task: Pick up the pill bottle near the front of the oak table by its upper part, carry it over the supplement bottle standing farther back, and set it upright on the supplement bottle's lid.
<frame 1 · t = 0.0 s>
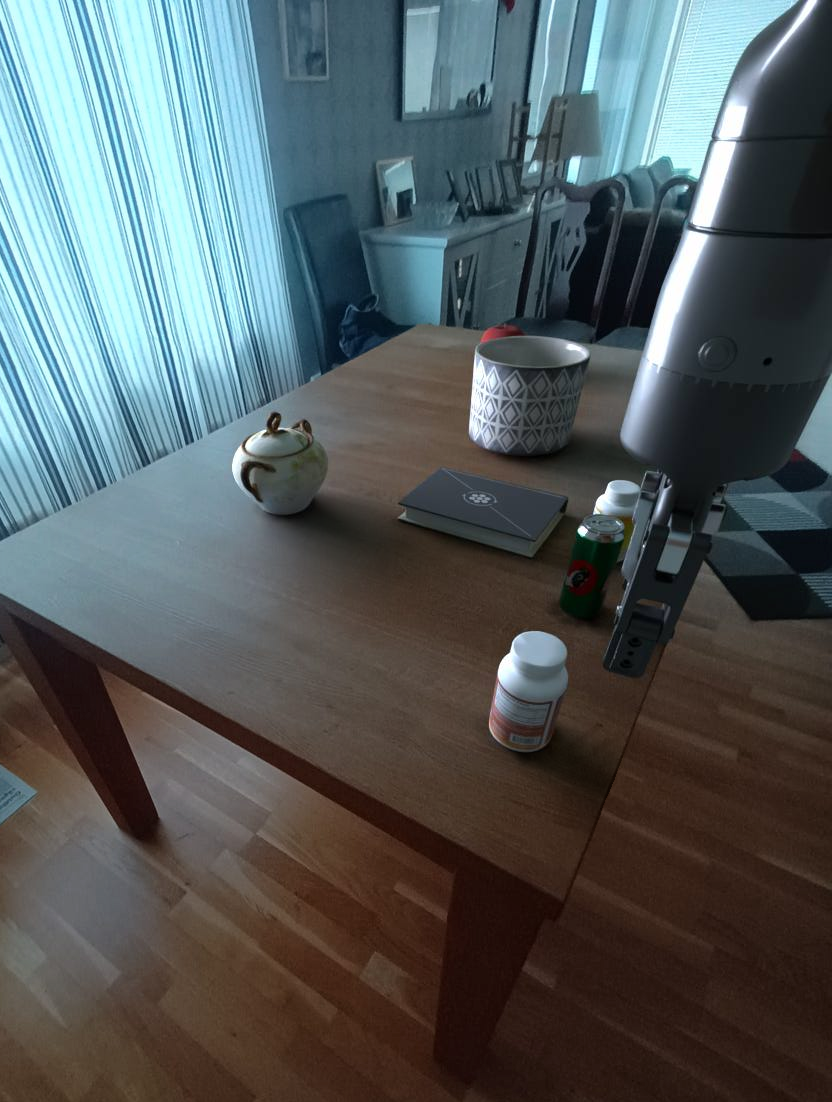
hand: (630, 628, 36), 21 cm above the table, tool pointing down, fingers open, 8 cm apart
pill bottle: (519, 731, 57), on the table
planter: (516, 444, 110), on the table
sugar bowl: (284, 503, 95), on the table
apple: (498, 376, 140), on the table
soda can: (578, 609, 72), on the table
book: (481, 518, 89), on the table
supplement bottle: (603, 555, 80), on the table
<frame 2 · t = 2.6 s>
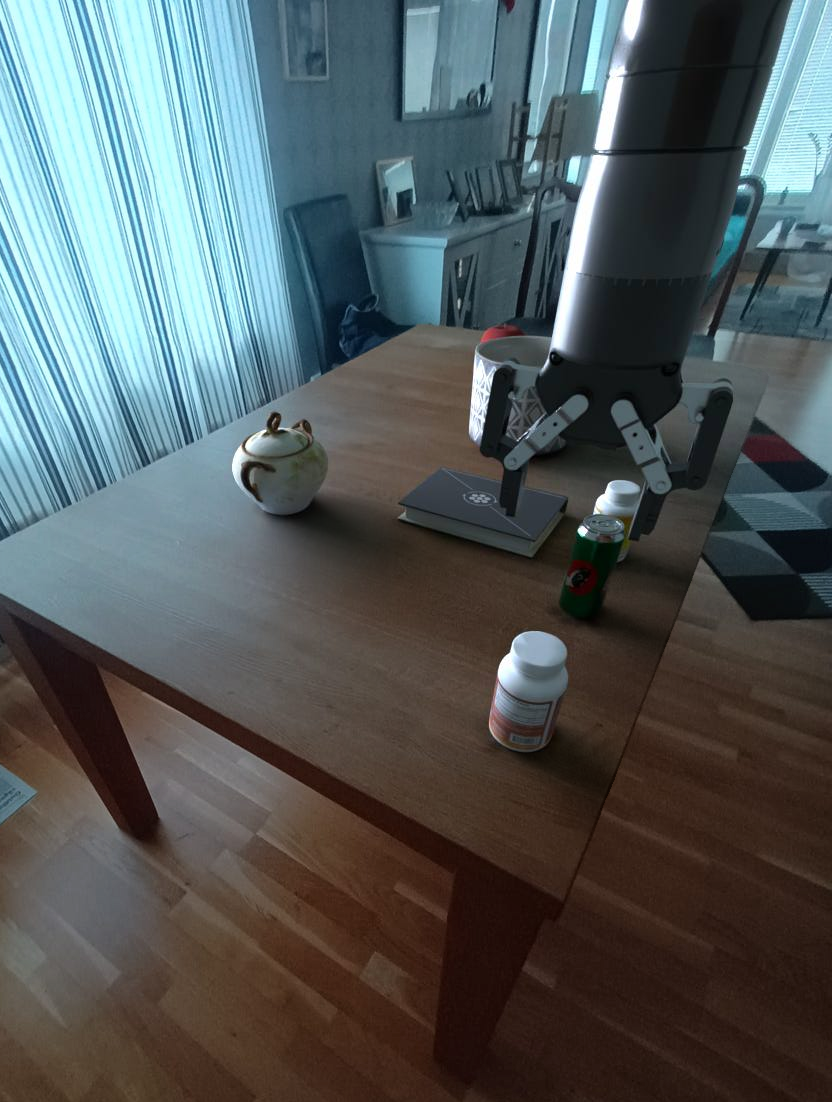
hand: (571, 523, 42), 23 cm above the table, tool pointing down, fingers open, 8 cm apart
nothing on the table moved.
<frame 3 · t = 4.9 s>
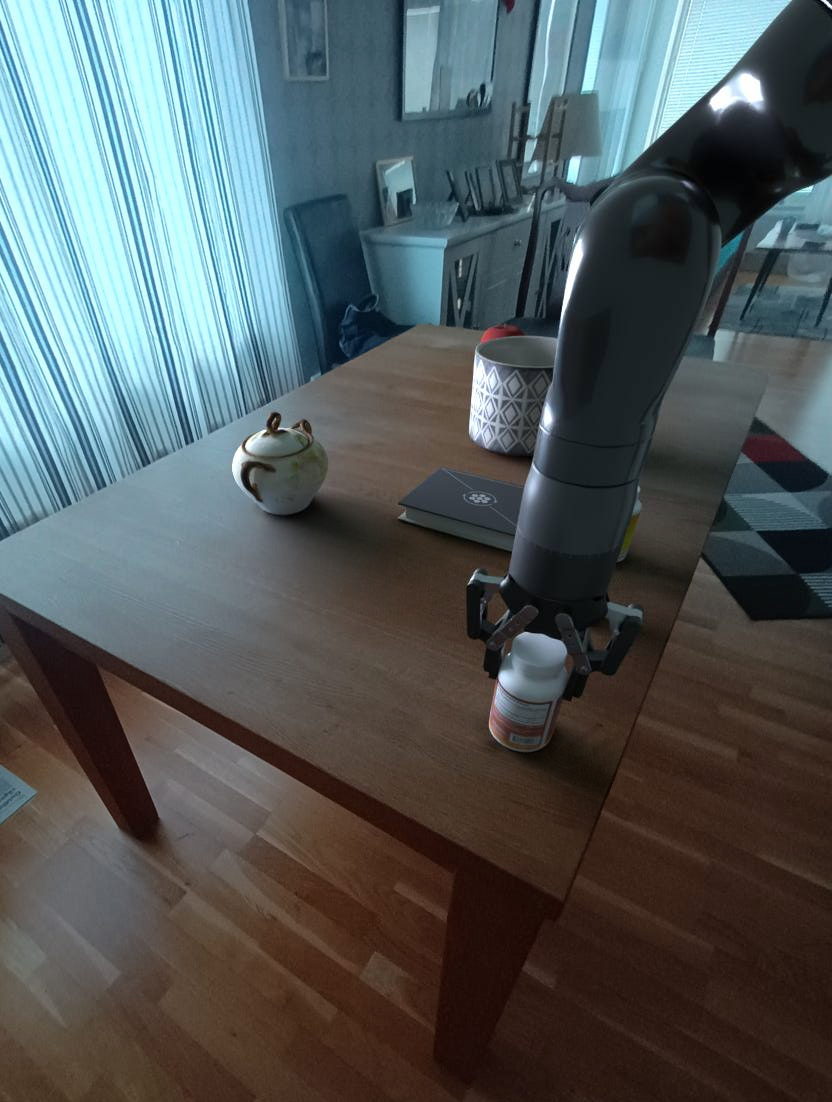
hand: (531, 683, 53), 7 cm above the table, tool pointing down, fingers closed on pill bottle, 6 cm apart
pill bottle: (519, 731, 57), on the table, touching gripper
everything else where it was.
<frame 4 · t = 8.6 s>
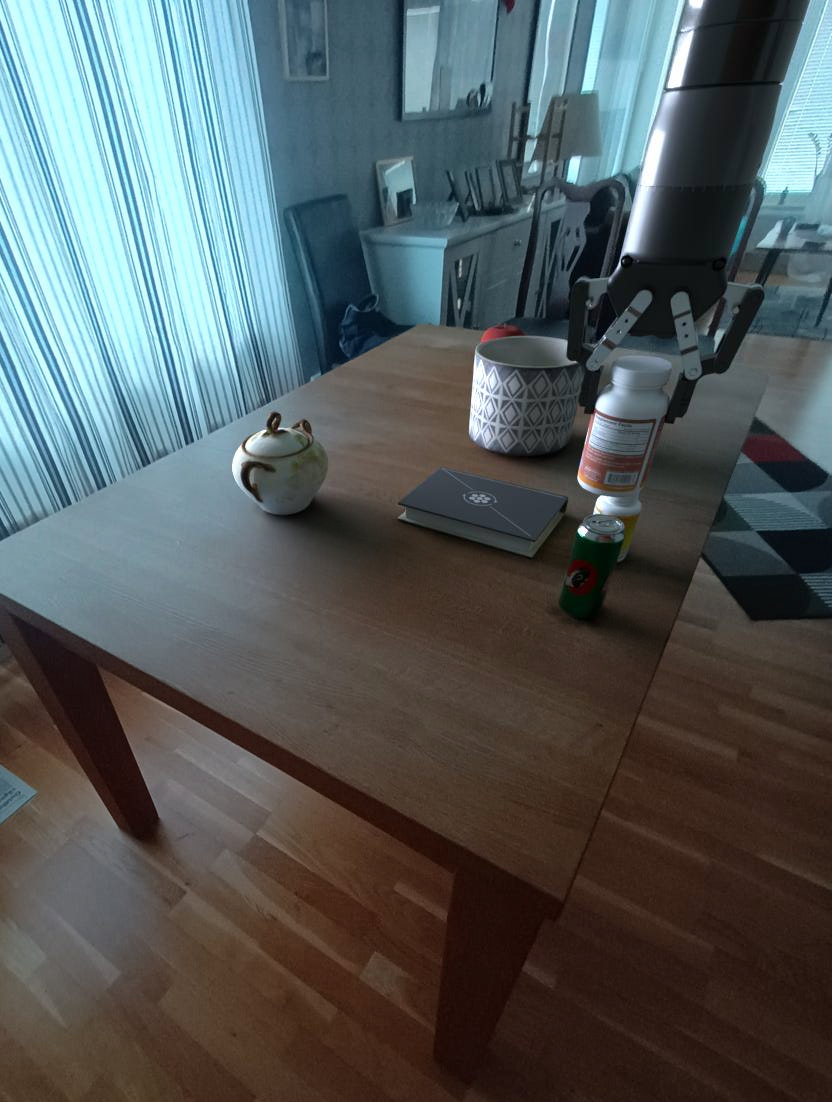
hand: (628, 415, 51), 25 cm above the table, tool pointing down, fingers closed on pill bottle, 6 cm apart
pill bottle: (608, 486, 56), point 19 cm above the table, touching gripper
everything else where it was.
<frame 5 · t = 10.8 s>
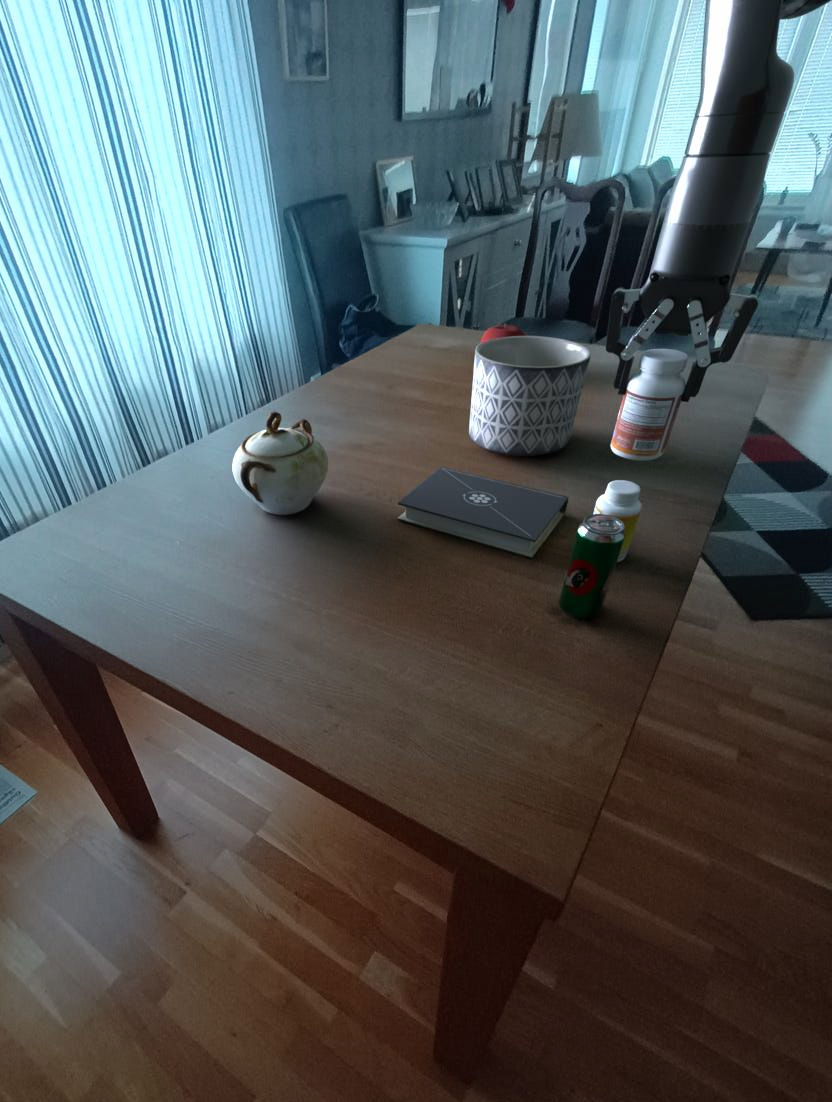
hand: (652, 395, 66), 22 cm above the table, tool pointing down, fingers closed on pill bottle, 6 cm apart
pill bottle: (635, 453, 71), point 15 cm above the table, touching gripper
everything else where it was.
when the fingers open (17 cm above the table, at t = 12.5 s): pill bottle stays where it is, resting on supplement bottle.
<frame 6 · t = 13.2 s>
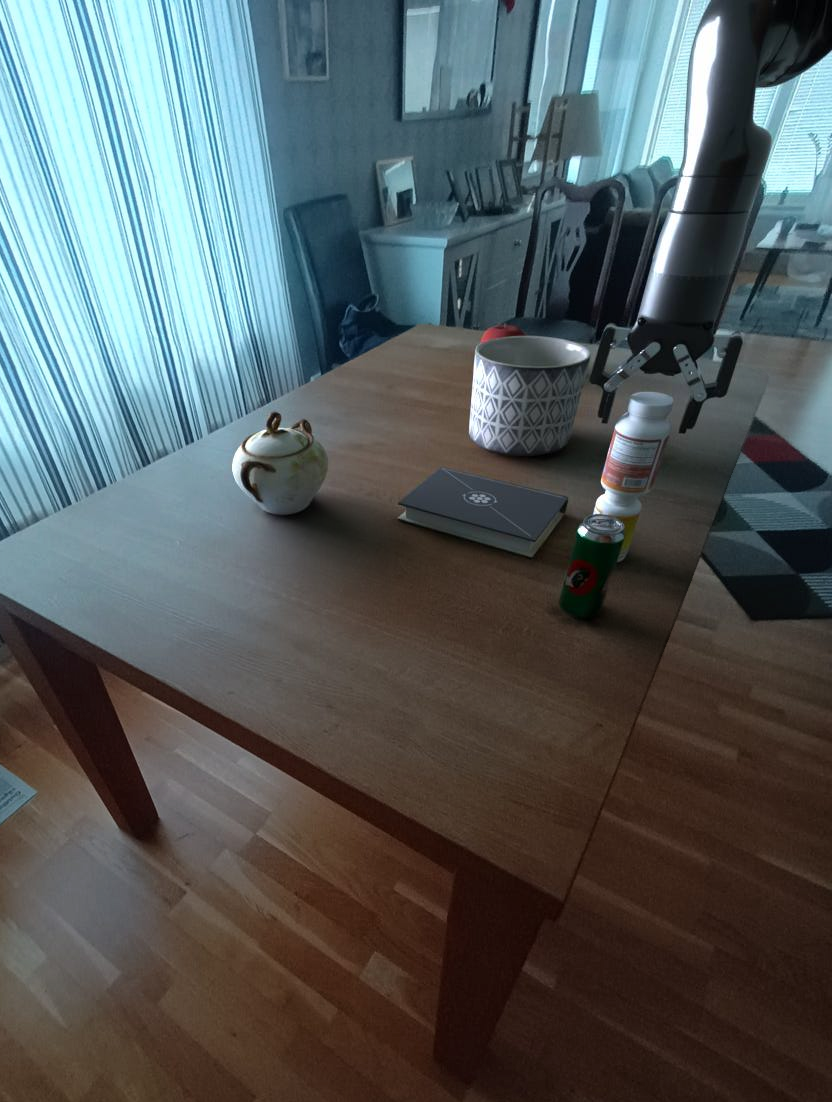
hand: (642, 426, 68), 18 cm above the table, tool pointing down, fingers open, 8 cm apart
pill bottle: (624, 488, 74), point 10 cm above the table, touching supplement bottle
supplement bottle: (603, 555, 80), on the table, touching pill bottle
everything else where it was.
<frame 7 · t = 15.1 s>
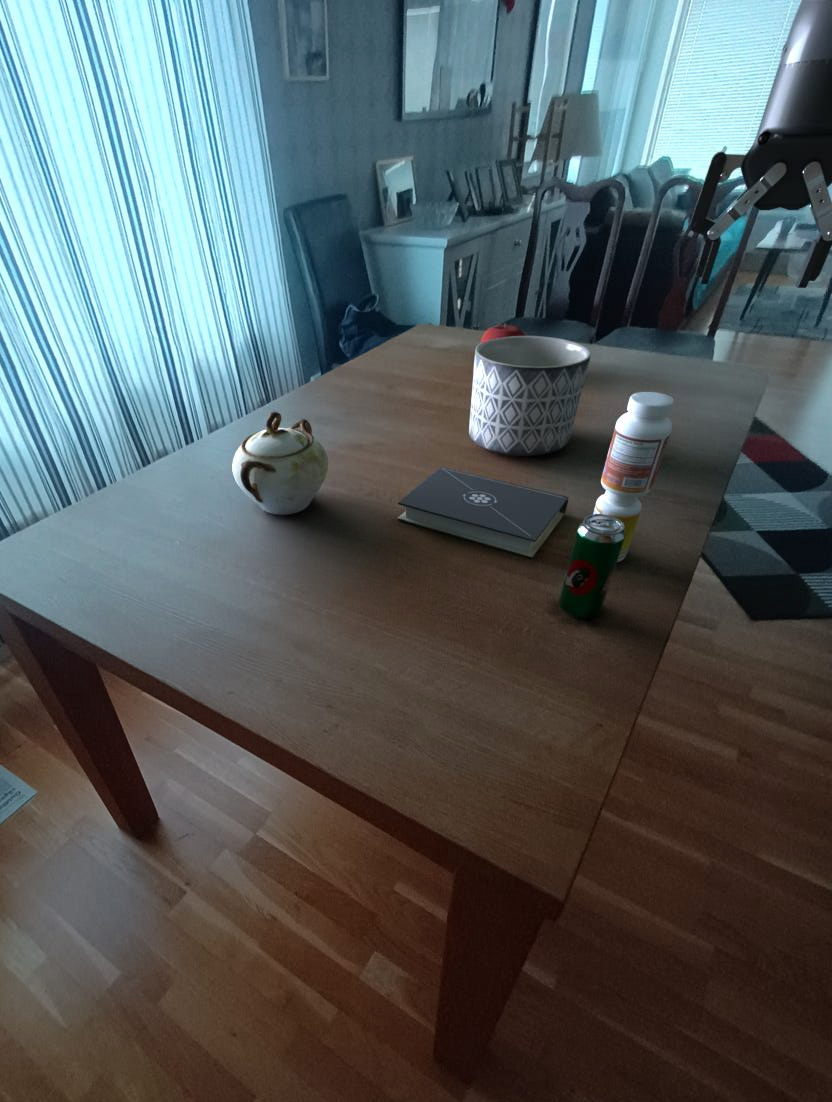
hand: (751, 284, 58), 33 cm above the table, tool pointing down, fingers open, 8 cm apart
nothing on the table moved.
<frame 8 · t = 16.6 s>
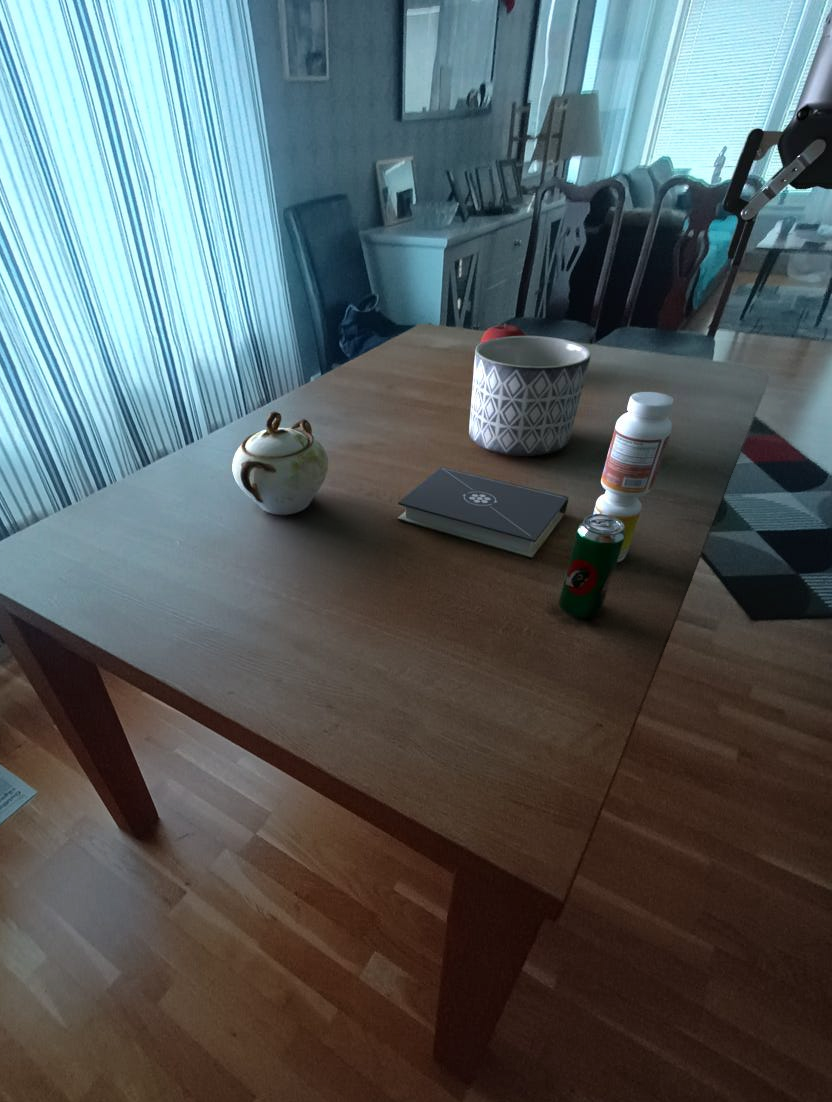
hand: (783, 267, 57), 34 cm above the table, tool pointing down, fingers open, 8 cm apart
nothing on the table moved.
at the end: pill bottle 0.1 cm off-centre on the supplement bottle, point 10.2 cm above the supplement bottle's base; pill bottle tilted 0°; supplement bottle tilted 0° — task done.
